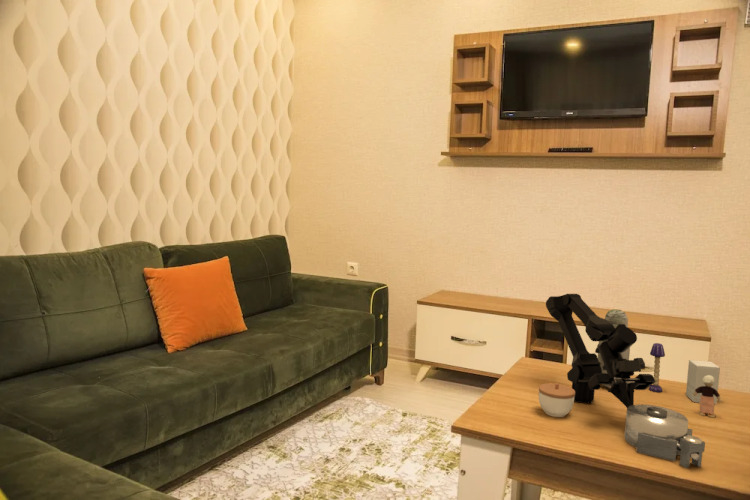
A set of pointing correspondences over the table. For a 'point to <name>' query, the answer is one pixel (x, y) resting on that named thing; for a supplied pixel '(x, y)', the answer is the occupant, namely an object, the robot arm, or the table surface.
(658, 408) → the cover
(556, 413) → the lidded jar
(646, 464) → the table surface
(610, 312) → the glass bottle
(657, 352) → the toy lamp
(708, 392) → the grandmother figurine
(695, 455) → the dial plunger
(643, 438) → the centering jig
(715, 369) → the supplement box
